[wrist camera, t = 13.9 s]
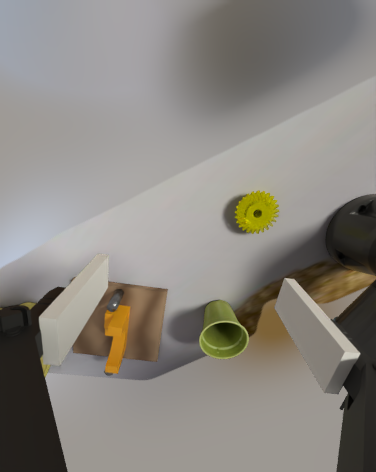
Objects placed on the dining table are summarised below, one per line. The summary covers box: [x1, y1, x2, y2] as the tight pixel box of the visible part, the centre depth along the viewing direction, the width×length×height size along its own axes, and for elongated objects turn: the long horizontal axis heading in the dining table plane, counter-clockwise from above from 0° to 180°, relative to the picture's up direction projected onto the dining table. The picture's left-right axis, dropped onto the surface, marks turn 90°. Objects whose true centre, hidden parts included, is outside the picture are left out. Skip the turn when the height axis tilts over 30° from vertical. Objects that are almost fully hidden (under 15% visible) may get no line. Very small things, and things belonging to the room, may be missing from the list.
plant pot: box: [199, 300, 249, 359], centre depth 45 cm, size 9×9×9 cm
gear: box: [235, 191, 279, 234], centre depth 40 cm, size 8×4×8 cm
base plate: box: [71, 277, 168, 362], centre depth 49 cm, size 20×20×1 cm
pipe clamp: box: [104, 305, 130, 374], centre depth 46 cm, size 12×4×6 cm, turn 170°
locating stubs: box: [104, 289, 124, 375], centre depth 47 cm, size 2×19×5 cm, turn 171°
